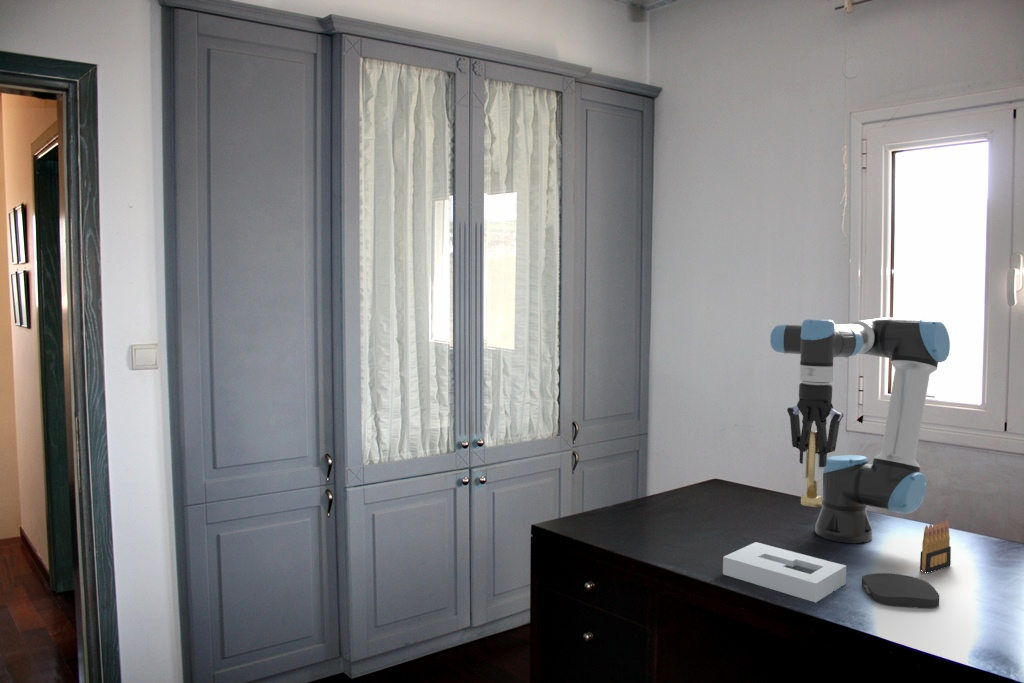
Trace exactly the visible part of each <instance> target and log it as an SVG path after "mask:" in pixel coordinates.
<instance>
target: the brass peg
mask: <svg viewBox="0 0 1024 683" xmlns="http://www.w3.org/2000/svg"><path fill="white" fill-rule="evenodd" d="M807 451H808V466H807V478H806V492H805V493H804V494H801V496H800V504H801V505H802V506H805V507H808V508H822V504H823V496H821V495H818V481H815V480H814V475H815V454H816V453H817V452H818V439H817V430H816V431H815V430H811V431H809V439H808V450H807Z"/></svg>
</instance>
